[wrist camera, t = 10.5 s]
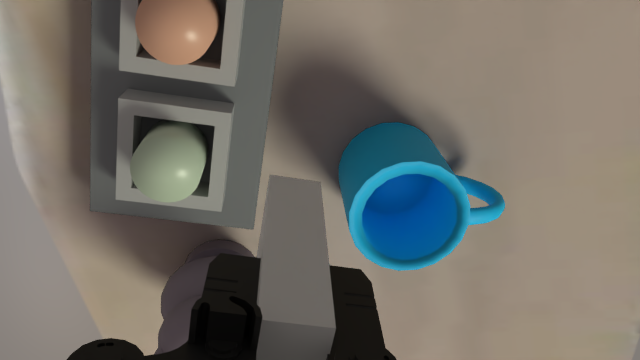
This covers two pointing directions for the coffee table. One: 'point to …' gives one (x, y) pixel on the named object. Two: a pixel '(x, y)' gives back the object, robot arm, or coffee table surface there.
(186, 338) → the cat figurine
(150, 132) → the sage button
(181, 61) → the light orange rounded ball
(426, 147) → the mug
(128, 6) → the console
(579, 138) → the coffee table surface
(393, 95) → the coffee table surface
